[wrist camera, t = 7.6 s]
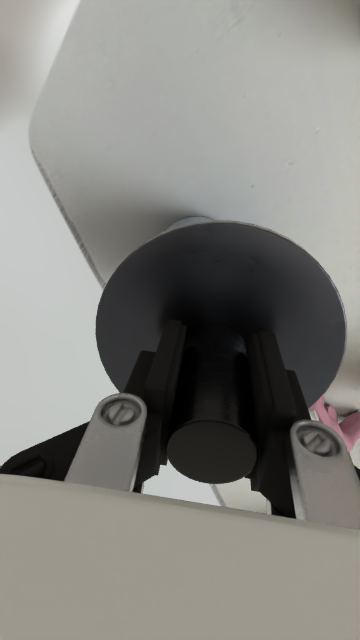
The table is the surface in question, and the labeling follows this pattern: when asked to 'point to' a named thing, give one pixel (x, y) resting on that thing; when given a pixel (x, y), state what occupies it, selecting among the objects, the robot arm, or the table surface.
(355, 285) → the table surface
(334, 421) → the video game controller
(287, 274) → the lid
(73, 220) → the table surface
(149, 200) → the table surface
